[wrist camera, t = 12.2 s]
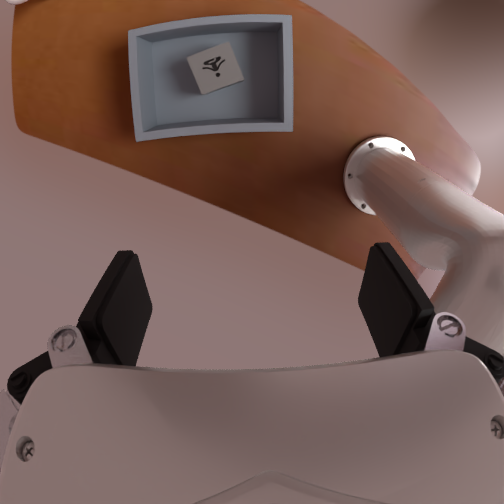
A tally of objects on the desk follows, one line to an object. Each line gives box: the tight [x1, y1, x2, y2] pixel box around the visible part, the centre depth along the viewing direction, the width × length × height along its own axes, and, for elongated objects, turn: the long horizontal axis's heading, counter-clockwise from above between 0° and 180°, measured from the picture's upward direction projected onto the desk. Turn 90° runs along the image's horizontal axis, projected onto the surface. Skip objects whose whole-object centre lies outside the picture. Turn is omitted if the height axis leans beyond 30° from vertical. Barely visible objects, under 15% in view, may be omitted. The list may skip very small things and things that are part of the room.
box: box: [128, 14, 293, 142], centre depth 29 cm, size 18×14×7 cm
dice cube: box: [187, 42, 244, 95], centre depth 29 cm, size 5×5×5 cm
